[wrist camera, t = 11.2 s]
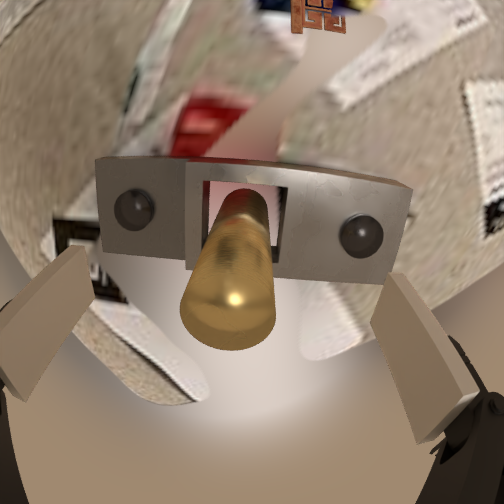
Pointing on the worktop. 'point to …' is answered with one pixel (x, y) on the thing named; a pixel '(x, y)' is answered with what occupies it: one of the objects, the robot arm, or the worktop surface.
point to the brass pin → (233, 278)
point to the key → (314, 17)
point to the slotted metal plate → (291, 218)
